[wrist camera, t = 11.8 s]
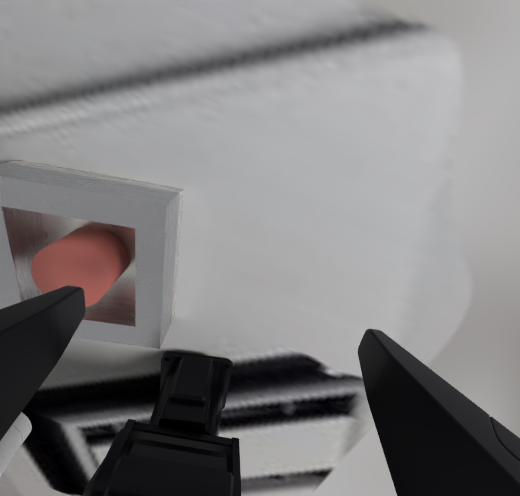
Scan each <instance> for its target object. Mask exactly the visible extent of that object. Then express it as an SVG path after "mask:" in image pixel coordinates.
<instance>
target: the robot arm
mask: <svg viewBox="0 0 520 496" xmlns="http://www.w3.org/2000/svg"><path fill="white" fill-rule="evenodd" d="M85 312H86V305H85V294H84V289H83V288H82V287H78V286H71V285H67V286H64V287H61V288H58V289H56V290H53V291H50V292H47V293H44V294H42V295H39V296H36V297H33V298H30V299H28V300H25V301H22V302H19V303H16V304H13V305H11V306H8V307H5V308H2V309H0V441H1V440H2V438H3V437H4V435H5V434H6V433H7V431H8V430H9V428H10V427H11V426H12V424H13V423H14V422H15V420H16V419H17V417H18V416H19V415H20V413H21V412H22V411H23V409H24V408H25V406H26V405H27V404H28V402H29V401H30V400H31V398H32V397H33V395H34V394H35V393H36V391H37V390H38V389H39V387H40V386H41V384H42V383H43V382H44V380H45V379H46V378H47V376H48V375H49V373H50V372H51V371H52V369H53V368H54V366H55V365H56V364H57V362H58V360H59V359H60V357H61V356H62V354H63V352H64V351H65V349H66V347H67V345H68V344H69V342H70V340H71V338H72V337H73V335H74V333H75V332H76V330H77V328H78V326H79V325H80V323H81V321H82V319H83V318H84V315H85ZM358 356H359V361H360V366H361V371H362V376H363V381H364V386H365V391H366V395H367V399H368V403H369V406H370V410H371V413H372V416H373V419H374V422H375V426H376V429H377V432H378V435H379V438H380V442H381V445H382V448H383V451H384V454H385V457H386V461H387V464H388V467H389V470H390V474H391V477H392V480H393V483H394V486H395V490H396V493H397V496H520V438H519V437H517V436H516V435H515V434H513V433H512V432H511V431H509V430H508V429H507V428H506V427H504V426H503V425H501V424H500V423H499V422H498V421H496V420H495V419H494V418H493V417H489V415H488V414H487V413H486V412H485V411H484V410H482V409H481V408H480V407H478V406H477V405H476V404H475V403H473V402H472V401H471V400H469V399H468V398H467V397H465V396H464V395H463V394H461V393H460V392H459V391H458V390H457V389H455V388H454V387H453V386H451V385H450V384H449V383H448V382H446V381H445V380H443V379H442V378H441V377H440V376H438V375H437V374H436V373H434V372H433V371H432V370H431V369H429V368H428V367H427V366H426V365H424V364H423V363H422V362H420V361H419V360H418V359H417V358H415V357H414V356H413V355H411V354H410V353H409V352H408V351H406V350H405V349H404V348H402V347H401V346H400V345H399V344H397V343H396V342H395V341H393V340H392V339H391V338H390V337H388V336H387V335H386V334H384V333H383V332H382V331H380V330H375V329H367V330H366V331H365V333H364V336H363V338H362V340H361V343H360V345H359V348H358ZM167 357H168V358H167ZM227 365H228V366H227ZM232 365H233V363H232V361H230V360H227V359H219V358H211V357H203V356H196V355H188V354H180V353H172V352H165V353H164V354H163V356H162V360H161V380H160V393H159V396H158V399H157V402H156V405H155V407H154V410H153V413H152V416H151V418H150V421H149V424H145V423H140V422H136V420H131V419H128V421H127V423H126V425H125V427H124V429H121V430H120V432H118V433H117V434H116V436H115V438H114V440H113V443H112V445H111V447H110V449H109V451H108V453H107V455H106V457H105V459H104V460H103V462H102V463H101V465H100V466H99V468H98V469H97V471H96V472H95V474H94V475H93V477H92V478H91V480H90V481H89V483H88V484H87V486H86V488H85V491H84V493H83V496H241V476H240V453H239V439H238V438H232V439H230V438H225V437H219V436H218V433H219V425H220V417H221V409H223V408H224V407H225V402H226V397H227V392H228V387H229V382H230V377H231V372H232Z"/></svg>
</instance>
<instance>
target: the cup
mask: <svg viewBox="0 0 520 496" xmlns="http://www.w3.org/2000/svg"><path fill="white" fill-rule="evenodd" d="M31 429H32V425H31V422H30V420H29V419H28V417H27V416H26V415H25V414H23V413H22V412H21V413H20V415H19V416H18V417H17V419H16V420H15V422H14V423H13V424H12V426H11V427H10V428H9V430H8V431H7V433H6V434H5V435H4V437H3V438H2V440H1V441H0V476H1V475H2V473H3V472H4V470H5V468H6V467H7V465H8V464H9V462H10V461H11V459H12V458H13V456H14V454H15V453H16V451H17V450H18V448H19V447H20V446H21V444H22V443H23V442H24V440H25V439H26V438H27V436H28V435H29V433H30V432H31Z"/></svg>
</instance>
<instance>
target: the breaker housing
mask: <svg viewBox="0 0 520 496" xmlns="http://www.w3.org/2000/svg"><path fill="white" fill-rule="evenodd" d="M182 201H183V189H178V188H173V187H167V186H162V185H156V184H150V183H145V182H139V181H133V180H128V179H122V178H116V177H111V176H105V175H100V174H94V173H88V172H83V171H77V170H71V169H66V168H60V167H54V166H49V165H43V164H37V163H32V162H26V161H21V160H16V161H10V162H4V163H0V309H2V308H5V307H8V306H11V305H13V304H16V303H19V302H22V301H25V300H28V299H30V298H33V297H36V296H39V295H42V294H43V293H42V292H41V291H40V290H39V288H38V287H37V286H36V284H35V282H34V280H33V278H32V275H31V262H32V260H33V258H34V256H35V255H36V254H37V253H38V252H39V251H41V250H42V249H44V248H45V247H47V246H49V245H50V244H52V243H54V242H55V241H57V240H59V239H60V238H62V237H64V236H65V235H67V234H69V233H70V232H72V231H74V230H75V229H77V228H80V227H85V226H94V227H99V228H102V229H105V230H107V231H109V232H110V233H112V234H113V235H115V236H116V237H117V238H118V239H119V240H120V241H121V243H122V244H123V245H124V247H125V249H126V252H127V256H128V264H127V267H126V270H125V271H124V273H123V274H122V275H121V276H120V277H119V278H118V279H117V281H116V282H115V283H114V284H113V285H112V286H111V287H110V289H109V290H108V291H107V292H106V293H105V294H104V295H103V297H102V298H101V299H100V300H99V301H98V302H97V303H95V304H93V305H91V306H88V307H86V312H85V315H84V318H83V319H82V321H81V323H80V325H79V326H78V328H77V330H76V332H75V333H74V335H73V337H74V338H82V339H90V340H98V341H105V342H113V343H121V344H128V345H136V346H144V347H152V348H159V349H160V347H161V345H162V342H163V340H164V338H165V335H166V333H167V331H168V328H169V326H170V324H171V321H172V319H173V317H174V314H175V301H176V287H177V272H178V258H179V244H180V230H181V215H182Z"/></svg>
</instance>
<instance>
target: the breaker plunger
mask: <svg viewBox="0 0 520 496" xmlns="http://www.w3.org/2000/svg"><path fill="white" fill-rule="evenodd" d="M127 264H128V256H127V252H126V249H125V247H124V245H123V244H122V243H121V241H120V240H119V239H118V238H117V237H116V236H115V235H113V234H112V233H110V232H109V231H107V230H105V229H102V228H99V227H94V226H85V227H80V228H77V229H75V230H74V231H72V232H70V233H69V234H67V235H65V236H64V237H62V238H60V239H59V240H57V241H55V242H54V243H52V244H50V245H49V246H47V247H45V248H44V249H42V250H41V251H39V252H38V253H37V254H36V255H35V256H34V258H33V260H32V262H31V275H32V278H33V280H34V282H35V284H36V286H37V287H38V288H39V290H40V291H41V292H42V293H43V294H44V293H47V292H50V291H53V290H56V289H58V288H61V287H64V286H67V285H71V286H78V287H82V288H83V289H84V294H85V305H86V307H88V306H91V305H93V304H95V303H97V302H98V301H99V300H100V299H101V298H102V297H103V295H104V294H105V293H106V292H107V291H108V290H109V289H110V287H111V286H112V285H113V284H114V283H115V282H116V281H117V279H118V278H119V277H120V276H121V275H122V274H123V273H124V271H125V270H126V267H127Z"/></svg>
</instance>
